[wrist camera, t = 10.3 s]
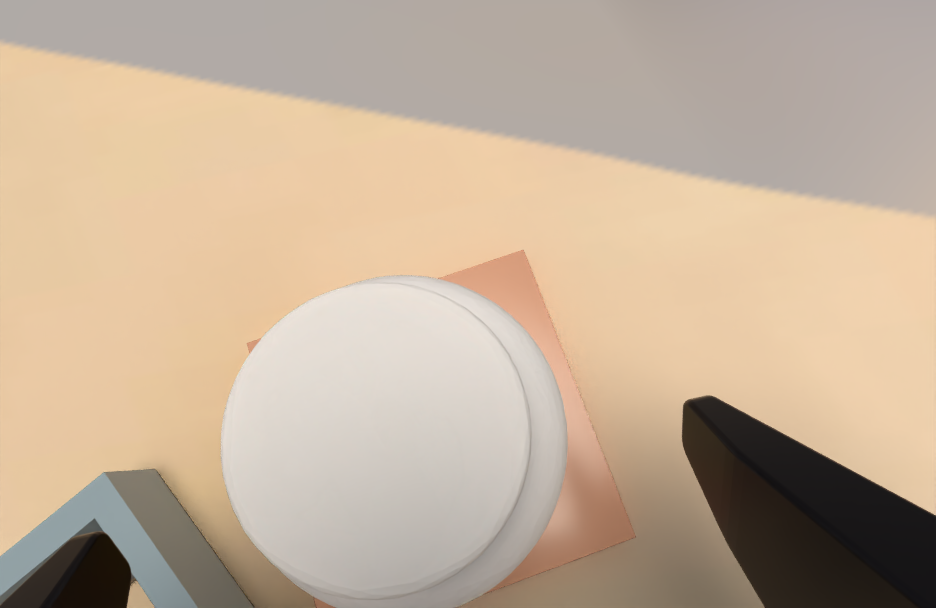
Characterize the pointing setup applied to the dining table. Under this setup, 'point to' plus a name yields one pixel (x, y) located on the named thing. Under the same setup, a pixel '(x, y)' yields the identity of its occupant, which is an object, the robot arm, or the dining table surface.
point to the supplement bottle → (395, 444)
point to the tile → (587, 473)
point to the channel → (133, 542)
